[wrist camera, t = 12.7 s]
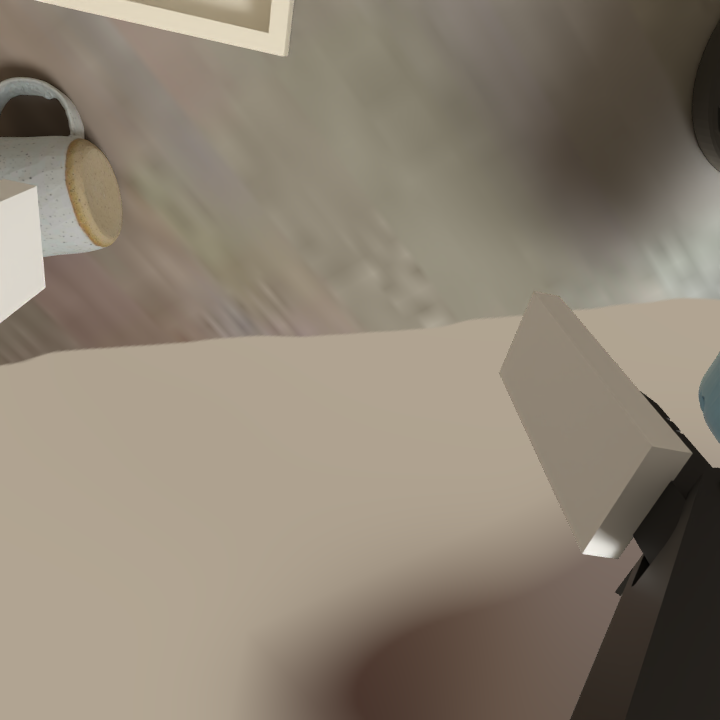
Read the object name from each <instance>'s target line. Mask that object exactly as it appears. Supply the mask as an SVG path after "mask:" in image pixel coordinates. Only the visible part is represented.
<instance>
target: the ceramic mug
mask: <svg viewBox="0 0 720 720" xmlns="http://www.w3.org/2000/svg"><path fill="white" fill-rule="evenodd" d="M18 95H38V96H43V97H45V98H46V99H52V98H57V99H58V100H59V102H60V103H61V105H62V106H63V107H64V109H65V112H66V115H67V118H68V121H69V128H70V135H69V136H40V137H0V180H3V179H6V180H11V181H16V182H20V183H25V184H30V185H35V186H37V194H38V206H39V218H40V229H41V241H42V253H43V257H46V256H54V255H62V254H74V253H84V252H90V251H94V250H98V249H102V248H105V247H108V246H109V245H111V244H112V243H113V242H114V241H115V240H116V239H117V237H118V235H119V233H120V231H121V226H122V215H123V212H122V202H121V196H120V190H119V187H118V183H117V180H116V177H115V174H114V172H113V169H112V167H111V165H110V163H109V161H108V160H107V158H106V156H105V155H104V154H103V153H102V151H101V150H100V149H99V148H98V147H96V146H95V145H94V144H92V143H91V142H89V141H88V140H85V138H84V127H83V123H82V121H81V118H80V115H79V113H78V110H77V109H76V107H75V106H74V104H73V103H72V101H71V100H70V99H69V98H68V97H67V96H66V95H65V94H63V93H62V92H61V91H59V90H58V89H57V88H55V87H54V86H52V85H51V84H49V83H47V82H45V81H42V80H39V79H36V78H29V77H15V78H9V79H6V80H3V81H1V82H0V115H1V112H2V109H3V108H4V106H5V105H6V103H7V102H8V101H9V100H10V99H11V98H13V97H16V96H18Z"/></svg>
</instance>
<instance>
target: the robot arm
mask: <svg viewBox="0 0 720 720" xmlns="http://www.w3.org/2000/svg"><path fill="white" fill-rule="evenodd" d="M692 113H693V124H694V130H695V134H696V137H697V141H698V143H699V146H700V148H701V150H702V152H703V154H704V155H705V157H706V158H707V160H708V161H709V162H710V163H711V164H712V165H713V166H714V167H715V168H716V169H717V170H718V171H719V172H720V21H719V23H718V25H717V27H716V28H715V30H714V32H713V34H712V36H711V38H710V40H709V42H708V44H707V47H706V49H705V51H704V54H703V57H702V59H701V62H700V65H699V69H698V72H697V76H696V80H695V86H694V92H693V104H692ZM44 288H45V276H44V265H43V253H42V241H41V229H40V218H39V206H38V194H37V186H35V185H30V184H25V183H20V182H16V181H11V180H6V179H3V180H0V323H1V322H2V321H3V320H5V319H6V318H7V317H8V316H10V315H11V314H12V313H14V312H15V311H16V310H17V309H19V308H20V307H21V306H23V305H24V304H25V303H26V302H28V301H29V300H30V299H32V298H33V297H34V296H35V295H37V294H38V293H39V292H40V291H42V290H43V289H44ZM499 374H500V376H501V378H502V380H503V383H504V385H505V387H506V389H507V391H508V394H509V396H510V398H511V400H512V402H513V404H514V407H515V409H516V411H517V413H518V415H519V417H520V420H521V422H522V424H523V426H524V428H525V431H526V433H527V435H528V437H529V439H530V441H531V443H532V446H533V448H534V450H535V452H536V454H537V456H538V459H539V461H540V463H541V465H542V467H543V470H544V472H545V474H546V476H547V478H548V481H549V483H550V485H551V487H552V489H553V491H554V494H555V495H556V498H557V500H558V502H559V504H560V507H561V508H562V511H563V513H564V515H565V517H566V520H567V522H568V524H569V526H570V528H571V531H572V533H573V535H574V537H575V539H576V541H577V544H578V546H579V548H580V550H581V552H582V554H587V555H594V556H601V557H608V558H615V559H618V558H619V557H620V555H621V554H622V553H623V551H624V550H625V548H626V547H627V546H628V544H629V543H630V541H631V540H632V539H633V537H634V538H635V540H636V542H637V544H638V545H639V547H640V549H641V550H642V552H643V555H642V556H641V558H640V559H639V560H638V562H637V563H636V564H635V566H634V567H633V568H632V570H631V571H630V573H629V574H628V575H627V577H626V578H625V579H624V581H623V582H622V583H621V585H620V586H619V587H618V589H617V590H616V593H617V594H619V595H620V596H621V595H622V596H621V599H620V601H619V603H618V606H617V608H616V610H615V613H614V615H613V618H612V620H611V623H610V625H609V627H608V630H607V632H606V634H605V637H604V639H603V642H602V644H601V646H600V649H599V651H598V654H597V656H596V659H595V661H594V663H593V666H592V668H591V671H590V673H589V675H588V678H587V680H586V683H585V685H584V687H583V690H582V692H581V695H580V697H579V700H578V702H577V704H576V707H575V709H574V711H573V714H572V716H571V719H570V720H720V468H712V467H711V465H710V464H709V463H708V462H707V461H706V460H705V458H704V457H703V456H702V455H701V454H700V453H699V452H698V450H697V449H696V448H695V447H694V446H693V445H692V444H691V442H690V441H689V440H688V439H687V438H686V437H685V435H684V434H681V433H680V430H679V428H678V427H677V426H676V425H675V424H674V423H673V422H672V421H670V418H669V417H668V416H667V415H666V413H665V412H664V411H663V410H662V409H661V408H660V407H659V405H658V404H657V403H655V402H654V401H653V400H651V399H650V398H649V397H647V396H646V395H645V394H643V393H642V392H641V391H639V390H638V388H637V387H636V386H635V385H634V384H633V382H631V380H630V379H629V378H628V377H627V375H626V374H625V373H624V372H623V371H622V370H621V368H620V367H619V366H618V365H617V364H616V362H615V361H614V360H613V359H612V358H611V357H610V355H609V354H608V353H607V352H606V351H605V349H604V348H603V347H602V346H601V345H600V344H599V342H598V341H597V340H596V339H595V338H594V337H593V335H592V334H591V333H590V332H589V331H588V329H587V328H586V327H585V326H584V325H583V324H582V322H581V321H580V320H579V319H578V318H577V316H576V315H575V314H574V313H573V312H572V311H571V309H570V308H569V307H568V306H567V305H566V303H565V302H564V301H563V300H562V299H561V298H560V296H556V295H551V294H546V293H542V292H537V291H534V292H533V294H532V296H531V299H530V301H529V303H528V306H527V308H526V311H525V313H524V315H523V318H522V320H521V322H520V325H519V327H518V330H517V332H516V334H515V337H514V339H513V341H512V344H511V346H510V349H509V351H508V353H507V356H506V358H505V360H504V363H503V365H502V367H501V370H500V372H499ZM699 402H700V407H701V410H702V411H703V413H704V414H703V415H704V419H705V421H706V423H707V425H708V427H709V429H710V430H711V432H712V433H713V435H714V436H715V438H716V439H717V441H718V442H719V443H720V352H719V354H718V356H717V357H716V359H715V360H714V362H713V363H712V365H711V366H710V368H709V369H708V371H707V372H706V374H705V375H704V377H703V379H702V381H701V384H700V387H699Z"/></svg>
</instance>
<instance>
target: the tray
mask: <svg viewBox="0 0 720 720" xmlns="http://www.w3.org/2000/svg"><path fill="white" fill-rule="evenodd" d="M36 1H40V2H44V3H49V4H53V5H58V6H62V7H67V8H71V9H75V10H80V11H84V12H89V13H93V14H98V15H102V16H106V17H111V18H115V19H120V20H124V21H129V22H133V23H137V24H142V25H146V26H151V27H155V28H160V29H164V30H168V31H173V32H177V33H182V34H186V35H191V36H195V37H199V38H204V39H208V40H213V41H217V42H222V43H226V44H230V45H235V46H239V47H244V48H248V49H253V50H257V51H262V52H266V53H270V54H275V55H279V56H288V53H289V44H290V35H291V26H292V17H293V8H294V0H36Z"/></svg>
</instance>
